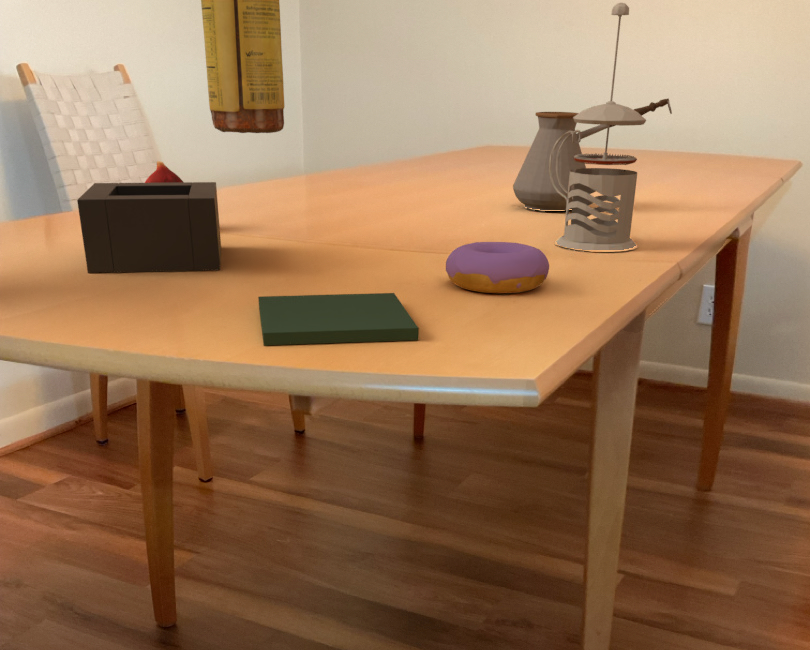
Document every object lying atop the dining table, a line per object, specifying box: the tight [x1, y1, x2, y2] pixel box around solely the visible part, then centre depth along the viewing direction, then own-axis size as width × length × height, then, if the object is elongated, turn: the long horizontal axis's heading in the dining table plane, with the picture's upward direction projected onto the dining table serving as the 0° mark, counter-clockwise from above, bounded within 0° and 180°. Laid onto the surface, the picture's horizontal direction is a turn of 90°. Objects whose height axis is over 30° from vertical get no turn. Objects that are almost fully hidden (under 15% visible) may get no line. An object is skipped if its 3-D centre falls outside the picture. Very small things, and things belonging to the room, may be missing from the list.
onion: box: [144, 160, 184, 183], centre depth 113 cm, size 6×6×8 cm
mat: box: [258, 292, 420, 346], centre depth 75 cm, size 12×12×1 cm
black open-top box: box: [76, 181, 222, 274], centre depth 97 cm, size 13×13×7 cm
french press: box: [549, 2, 647, 250], centre depth 104 cm, size 10×12×25 cm
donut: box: [445, 241, 550, 294], centre depth 88 cm, size 10×9×5 cm
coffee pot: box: [512, 97, 673, 210], centre depth 131 cm, size 21×12×15 cm, turn 80°
